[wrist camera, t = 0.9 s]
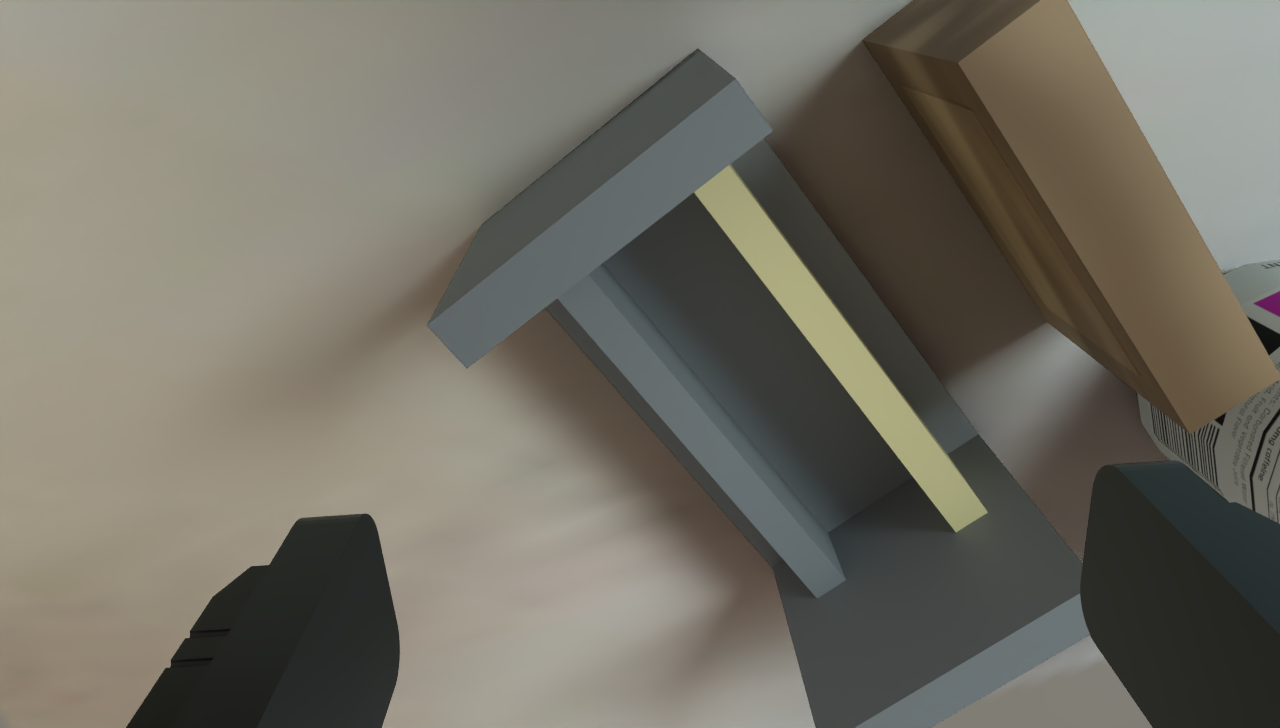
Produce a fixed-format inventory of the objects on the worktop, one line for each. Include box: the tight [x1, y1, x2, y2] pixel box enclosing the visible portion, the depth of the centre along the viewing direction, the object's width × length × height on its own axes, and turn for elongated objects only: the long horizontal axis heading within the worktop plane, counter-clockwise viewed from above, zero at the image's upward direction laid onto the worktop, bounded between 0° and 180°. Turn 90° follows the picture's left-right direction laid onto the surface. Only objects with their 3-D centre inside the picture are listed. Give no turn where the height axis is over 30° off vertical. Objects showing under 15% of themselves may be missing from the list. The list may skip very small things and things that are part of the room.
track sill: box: [427, 49, 1090, 728], centre depth 29 cm, size 9×18×10 cm, turn 38°
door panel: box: [862, 0, 1280, 434], centre depth 27 cm, size 3×12×9 cm, turn 38°
